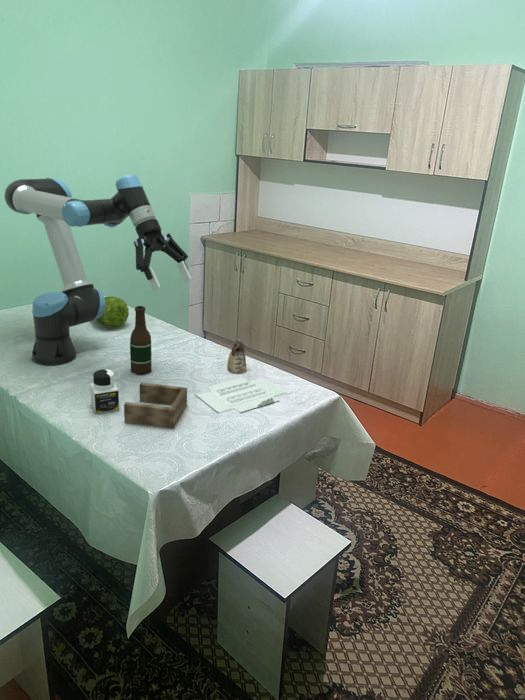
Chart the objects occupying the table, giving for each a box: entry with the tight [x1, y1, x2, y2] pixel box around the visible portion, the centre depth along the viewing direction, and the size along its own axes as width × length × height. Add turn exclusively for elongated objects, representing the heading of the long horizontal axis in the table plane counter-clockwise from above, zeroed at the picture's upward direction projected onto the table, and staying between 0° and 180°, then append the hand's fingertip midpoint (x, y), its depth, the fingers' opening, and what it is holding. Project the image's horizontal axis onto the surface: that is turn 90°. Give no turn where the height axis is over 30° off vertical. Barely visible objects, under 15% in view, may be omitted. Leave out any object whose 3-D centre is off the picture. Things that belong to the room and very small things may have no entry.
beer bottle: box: [129, 305, 153, 376], centre depth 186 cm, size 8×8×24 cm
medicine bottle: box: [89, 368, 120, 414], centre depth 163 cm, size 7×7×12 cm
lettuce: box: [95, 295, 130, 329], centre depth 232 cm, size 14×23×13 cm, turn 35°
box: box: [123, 382, 188, 429], centre depth 163 cm, size 15×15×6 cm
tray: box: [195, 377, 287, 414], centre depth 179 cm, size 20×28×4 cm
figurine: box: [226, 339, 247, 375], centre depth 195 cm, size 7×7×12 cm
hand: (173, 284), depth 168 cm, fingers open, 13 cm apart
